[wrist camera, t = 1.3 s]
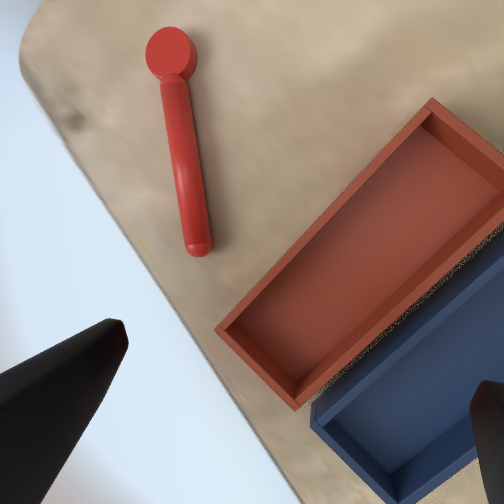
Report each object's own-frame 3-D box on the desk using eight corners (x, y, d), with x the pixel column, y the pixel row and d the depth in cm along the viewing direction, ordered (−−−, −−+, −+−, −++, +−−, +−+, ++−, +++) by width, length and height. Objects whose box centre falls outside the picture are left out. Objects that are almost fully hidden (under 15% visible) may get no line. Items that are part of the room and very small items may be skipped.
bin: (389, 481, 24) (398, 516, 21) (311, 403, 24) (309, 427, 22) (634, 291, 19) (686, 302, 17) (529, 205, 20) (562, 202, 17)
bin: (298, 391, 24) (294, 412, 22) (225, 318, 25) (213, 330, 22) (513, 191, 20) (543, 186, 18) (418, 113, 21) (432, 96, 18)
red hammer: (227, 252, 25) (219, 255, 23) (184, 259, 26) (172, 261, 24) (193, 29, 24) (181, 12, 22) (150, 43, 25) (135, 27, 23)
